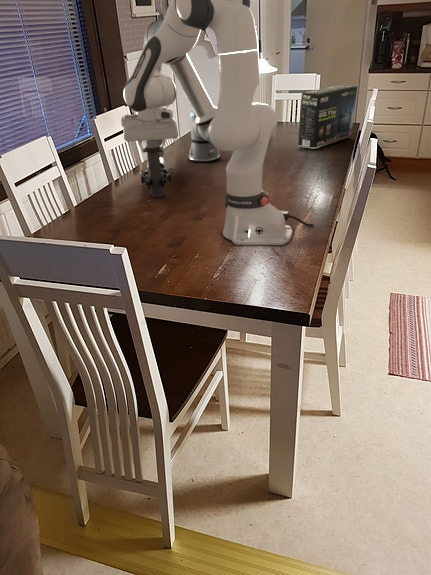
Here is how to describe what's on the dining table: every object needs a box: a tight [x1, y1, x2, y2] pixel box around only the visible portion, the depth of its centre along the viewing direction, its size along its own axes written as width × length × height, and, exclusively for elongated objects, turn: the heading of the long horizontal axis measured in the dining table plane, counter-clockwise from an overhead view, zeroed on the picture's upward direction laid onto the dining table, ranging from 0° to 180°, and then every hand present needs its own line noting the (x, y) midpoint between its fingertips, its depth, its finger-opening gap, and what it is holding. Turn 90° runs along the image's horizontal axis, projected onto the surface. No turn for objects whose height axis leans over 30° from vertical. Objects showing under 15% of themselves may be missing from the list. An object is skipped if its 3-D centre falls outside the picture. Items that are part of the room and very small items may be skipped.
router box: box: [297, 84, 358, 151], centre depth 238 cm, size 36×11×27 cm, turn 134°
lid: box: [145, 145, 160, 153], centre depth 174 cm, size 5×5×2 cm
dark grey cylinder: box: [146, 152, 164, 198], centre depth 179 cm, size 5×5×19 cm
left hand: (156, 185), depth 176 cm, fingers closed on dark grey cylinder, 5 cm apart
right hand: (153, 151), depth 174 cm, fingers closed on lid, 5 cm apart
